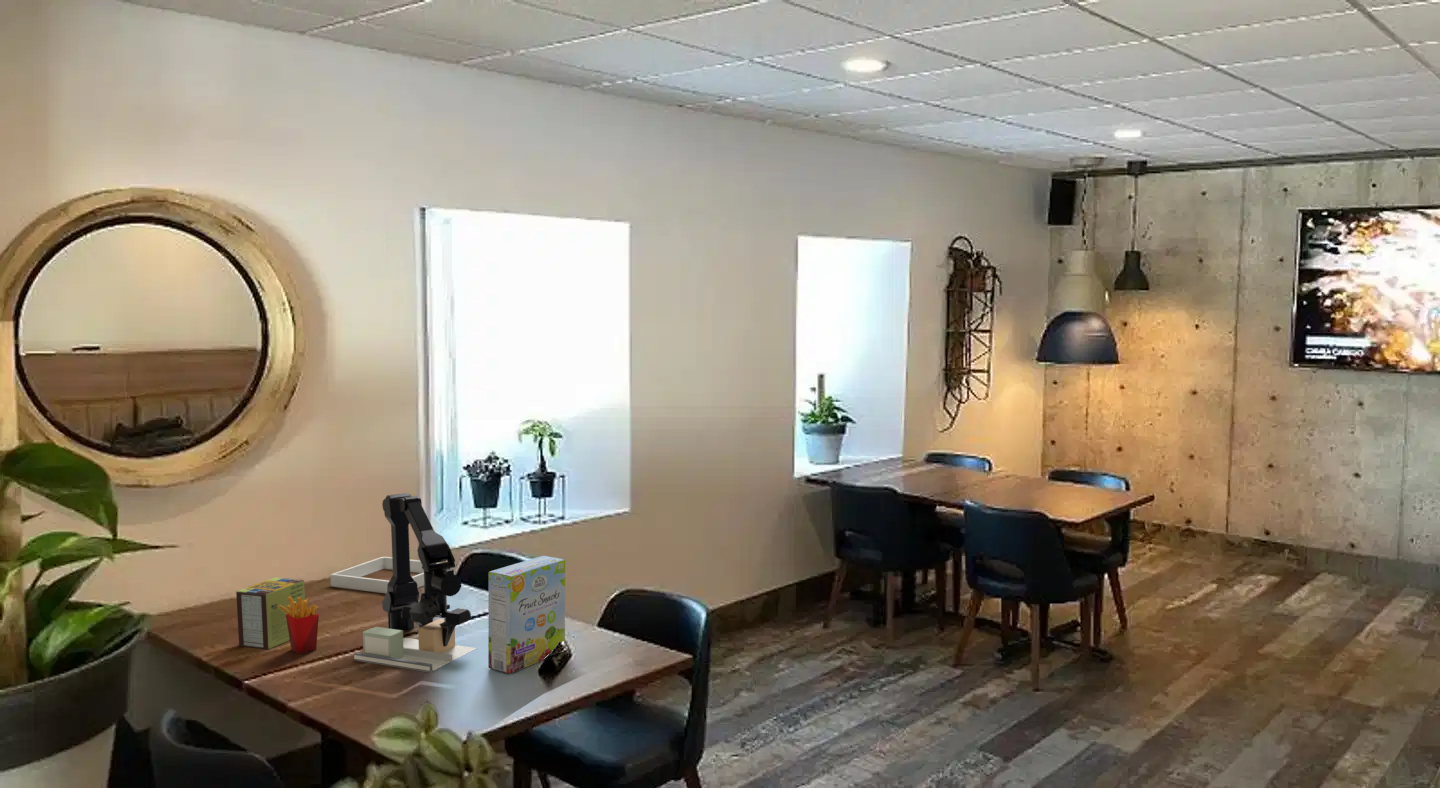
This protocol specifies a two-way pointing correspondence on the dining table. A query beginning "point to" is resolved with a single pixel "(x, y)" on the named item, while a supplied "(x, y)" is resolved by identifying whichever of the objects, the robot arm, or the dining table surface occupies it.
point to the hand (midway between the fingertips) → (436, 644)
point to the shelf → (416, 657)
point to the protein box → (266, 611)
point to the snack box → (525, 612)
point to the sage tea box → (383, 642)
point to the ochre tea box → (434, 637)
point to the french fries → (302, 625)
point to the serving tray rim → (354, 578)
